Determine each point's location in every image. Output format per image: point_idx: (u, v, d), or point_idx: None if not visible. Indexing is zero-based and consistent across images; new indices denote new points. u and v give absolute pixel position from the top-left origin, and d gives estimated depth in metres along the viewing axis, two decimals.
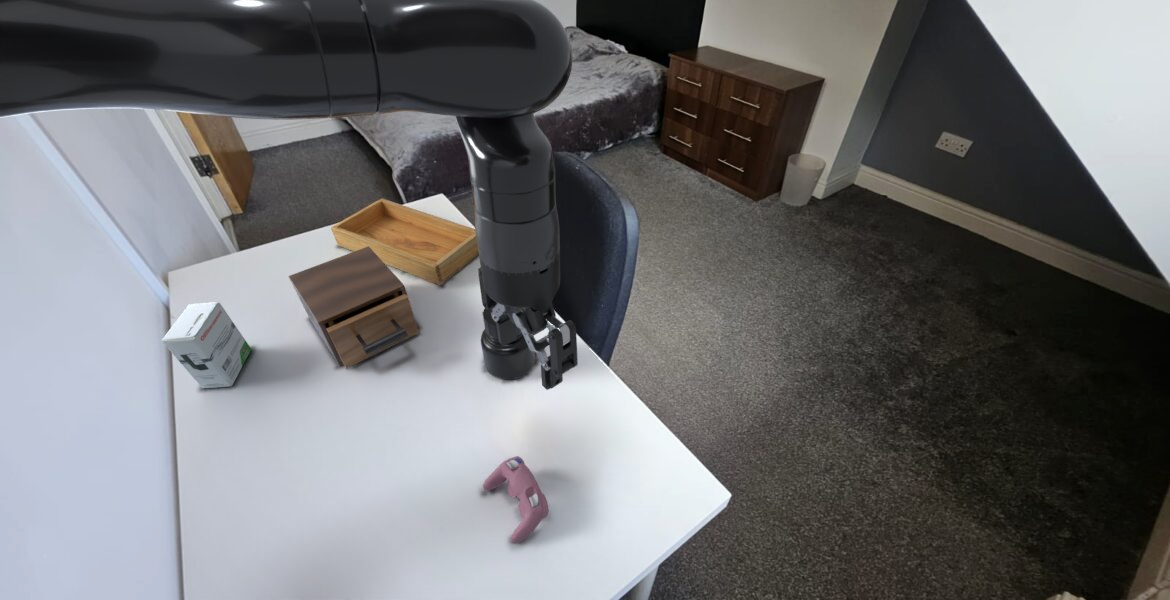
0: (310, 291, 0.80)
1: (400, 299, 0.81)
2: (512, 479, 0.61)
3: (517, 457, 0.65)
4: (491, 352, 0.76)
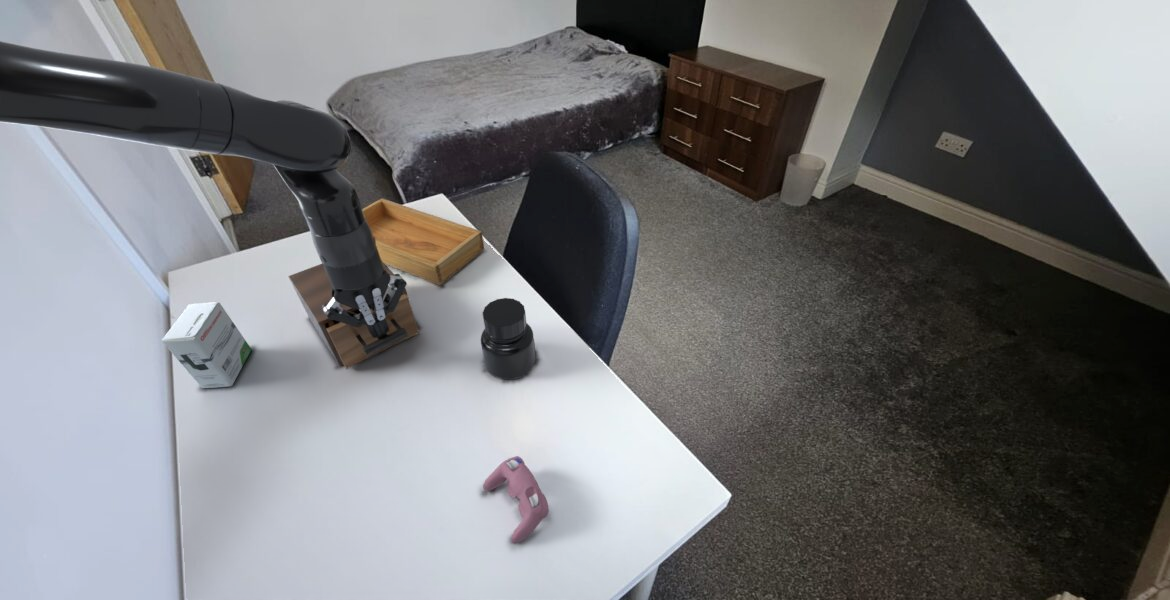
0: (310, 291, 0.80)
1: (400, 299, 0.81)
2: (512, 479, 0.61)
3: (517, 457, 0.65)
4: (491, 352, 0.76)
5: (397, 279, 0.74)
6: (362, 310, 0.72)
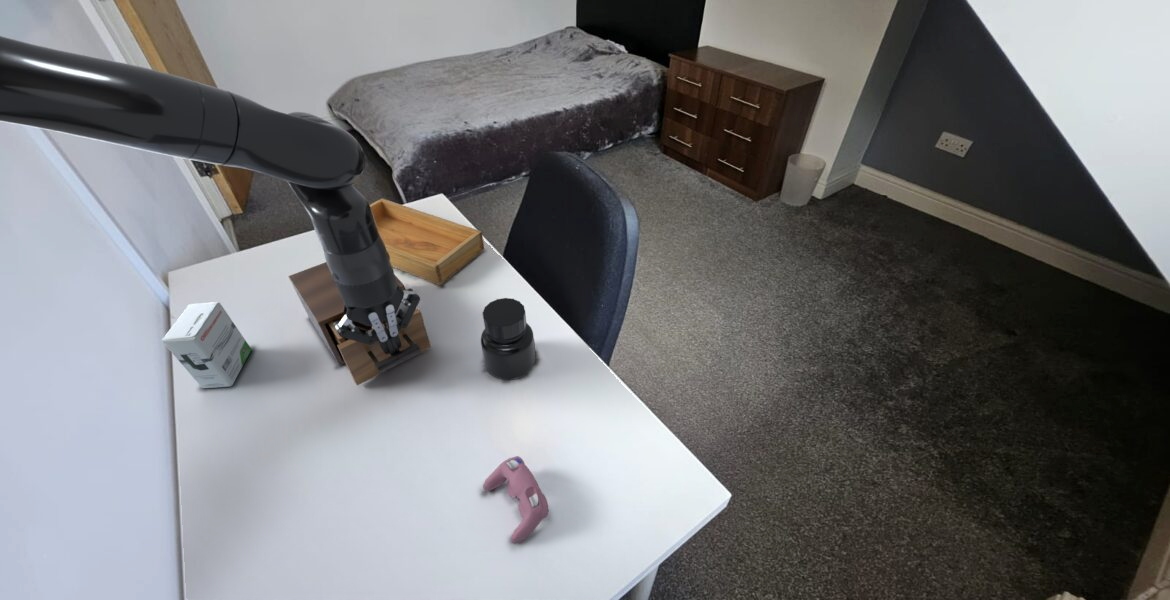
0: (310, 291, 0.80)
1: None
2: (512, 479, 0.61)
3: (517, 457, 0.65)
4: (491, 352, 0.76)
5: (410, 294, 0.72)
6: (375, 327, 0.69)
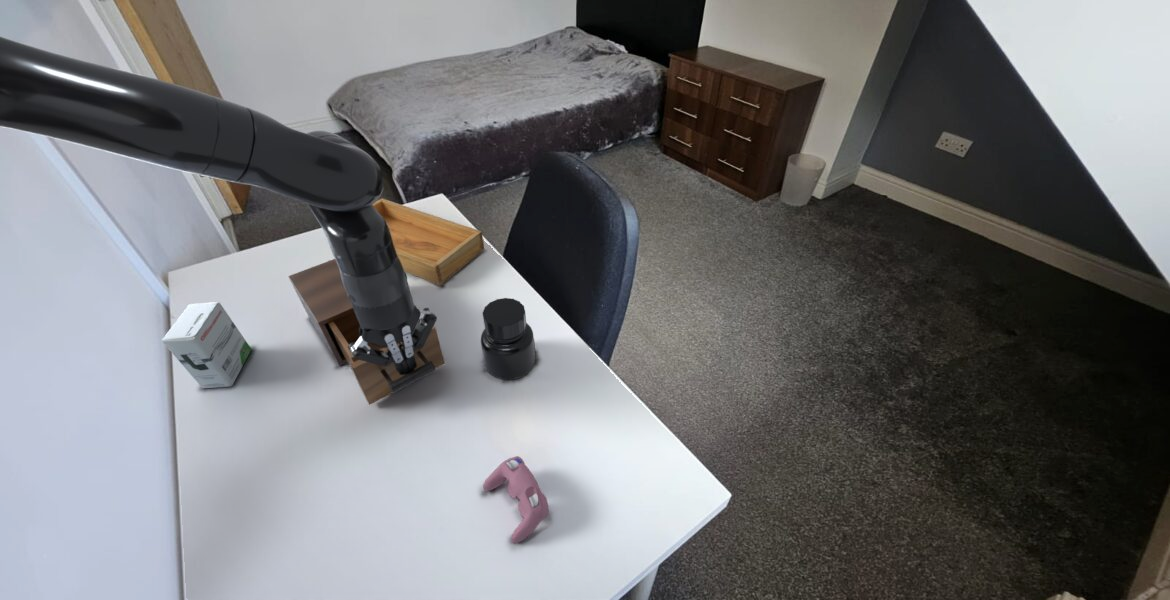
0: (310, 291, 0.80)
1: None
2: (512, 479, 0.61)
3: (517, 457, 0.65)
4: (491, 352, 0.76)
5: (427, 314, 0.70)
6: (391, 349, 0.67)
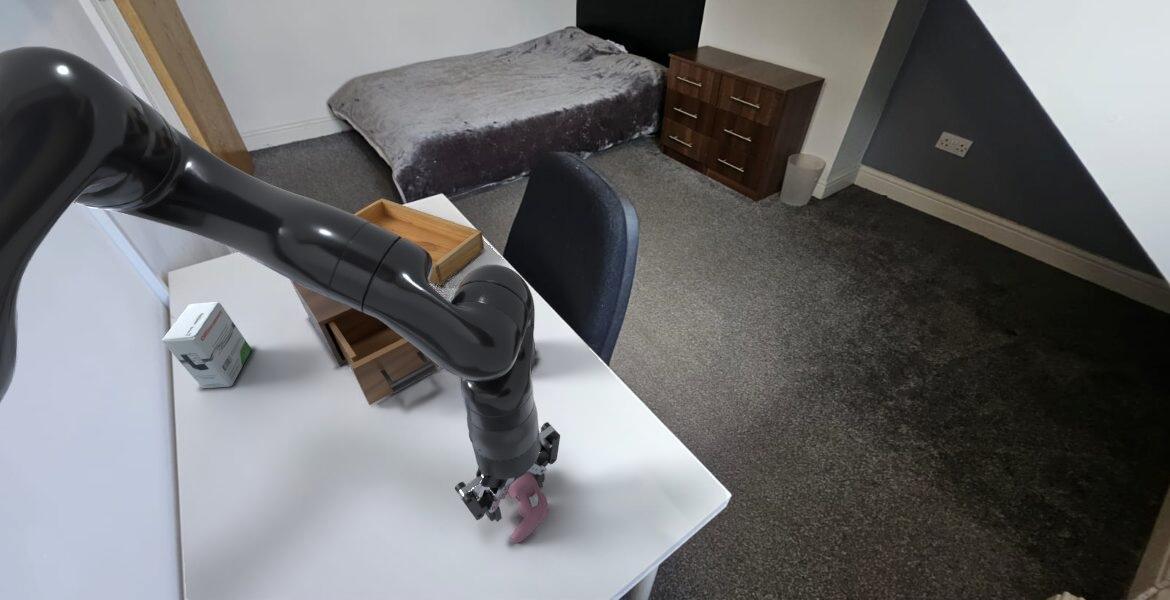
0: (310, 291, 0.80)
1: None
2: None
3: None
4: None
5: (467, 485, 0.54)
6: None
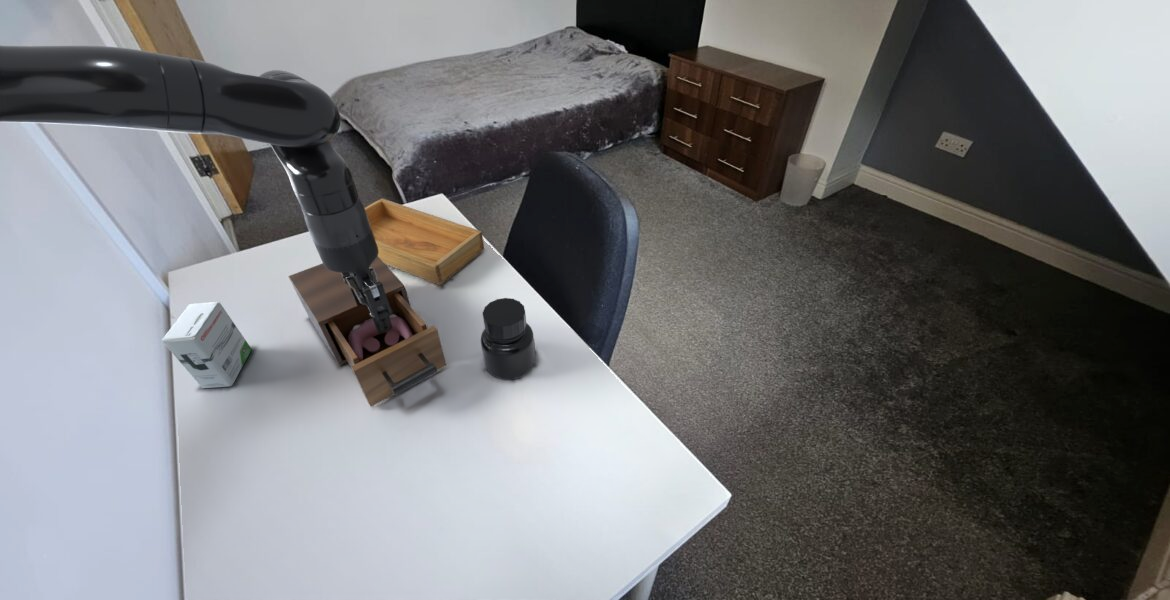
0: (310, 291, 0.80)
1: (428, 332, 0.75)
2: (369, 322, 0.80)
3: None
4: (491, 352, 0.76)
5: (367, 285, 0.65)
6: (341, 275, 0.71)
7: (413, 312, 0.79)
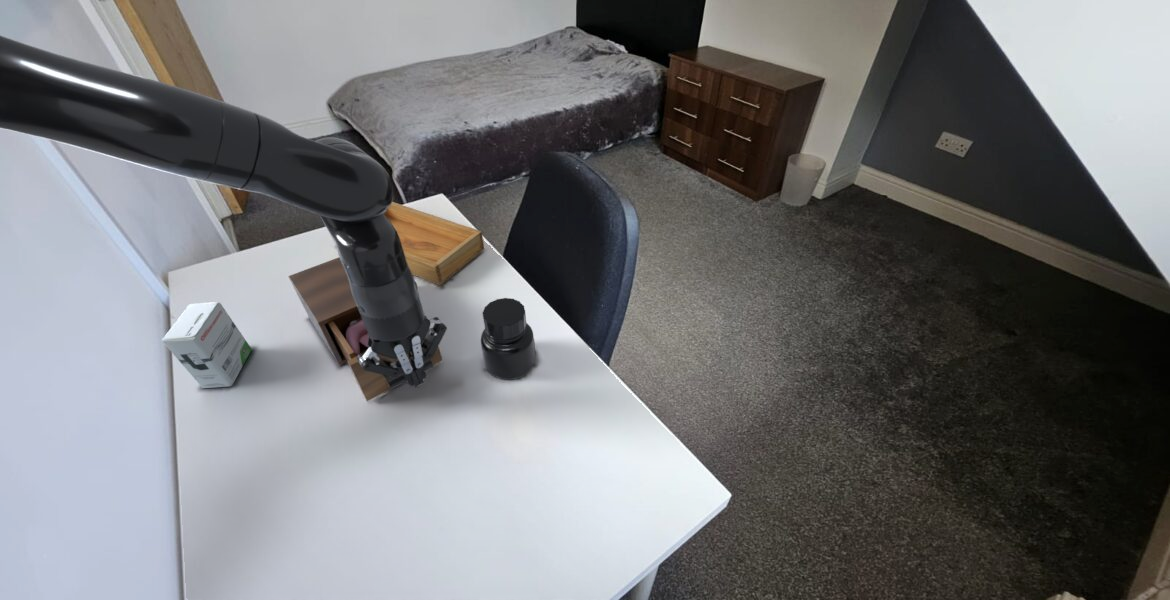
0: (310, 291, 0.80)
1: None
2: None
3: None
4: (491, 352, 0.76)
5: (437, 324, 0.68)
6: (400, 360, 0.65)
7: None
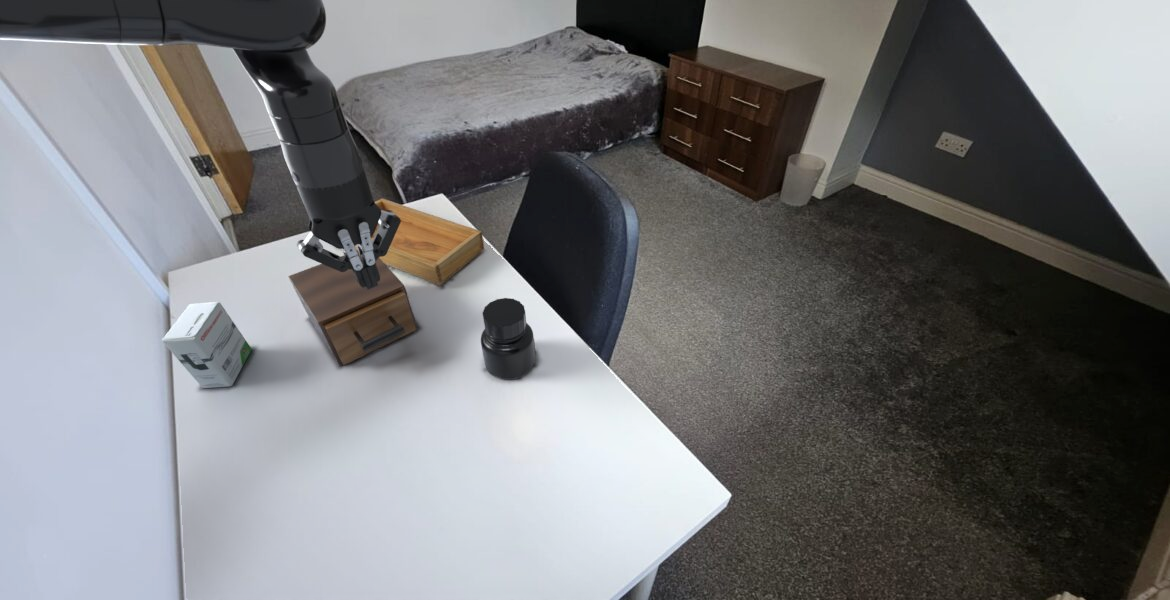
0: (310, 291, 0.80)
1: (397, 296, 0.81)
2: None
3: None
4: (491, 352, 0.76)
5: (389, 215, 0.62)
6: (347, 249, 0.59)
7: None
